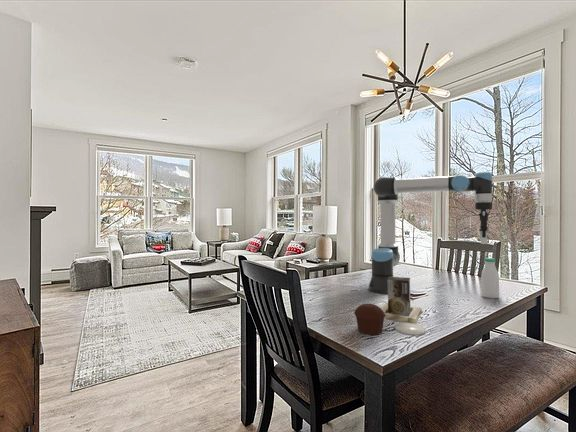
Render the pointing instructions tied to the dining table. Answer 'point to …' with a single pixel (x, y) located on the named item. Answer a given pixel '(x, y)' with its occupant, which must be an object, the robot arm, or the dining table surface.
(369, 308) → the muffin
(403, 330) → the coaster
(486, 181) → the robot arm
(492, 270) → the milk bottle
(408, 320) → the holder board
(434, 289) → the dining table surface
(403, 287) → the coffee box
